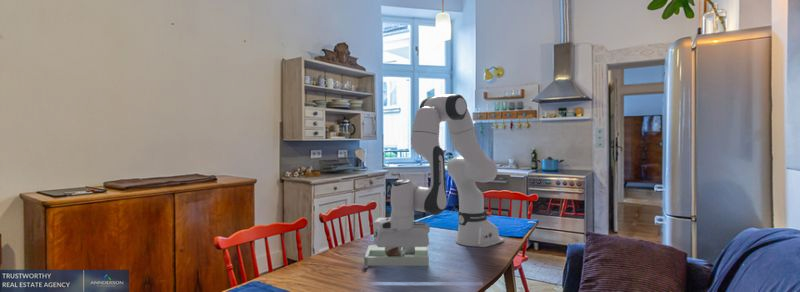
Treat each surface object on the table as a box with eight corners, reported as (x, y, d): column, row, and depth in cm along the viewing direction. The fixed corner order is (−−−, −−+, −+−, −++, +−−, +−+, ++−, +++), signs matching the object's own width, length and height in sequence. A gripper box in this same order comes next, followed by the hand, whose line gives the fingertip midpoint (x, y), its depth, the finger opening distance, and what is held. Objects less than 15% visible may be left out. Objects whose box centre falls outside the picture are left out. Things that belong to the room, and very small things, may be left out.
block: (400, 256, 151) (397, 245, 151) (401, 260, 146) (397, 248, 146) (389, 259, 151) (386, 248, 151) (389, 263, 146) (386, 252, 146)
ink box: (378, 242, 178) (378, 217, 177) (389, 243, 177) (388, 217, 176) (373, 248, 169) (373, 221, 169) (384, 248, 168) (384, 221, 168)
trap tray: (427, 254, 160) (426, 244, 160) (428, 268, 144) (428, 257, 144) (369, 253, 161) (369, 244, 161) (364, 268, 145) (364, 257, 144)
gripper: (429, 220, 151) (429, 255, 151) (376, 220, 151) (377, 255, 152) (430, 224, 145) (430, 260, 145) (375, 224, 145) (375, 260, 145)
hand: (402, 258), depth 148 cm, fingers closed, pressing on block
